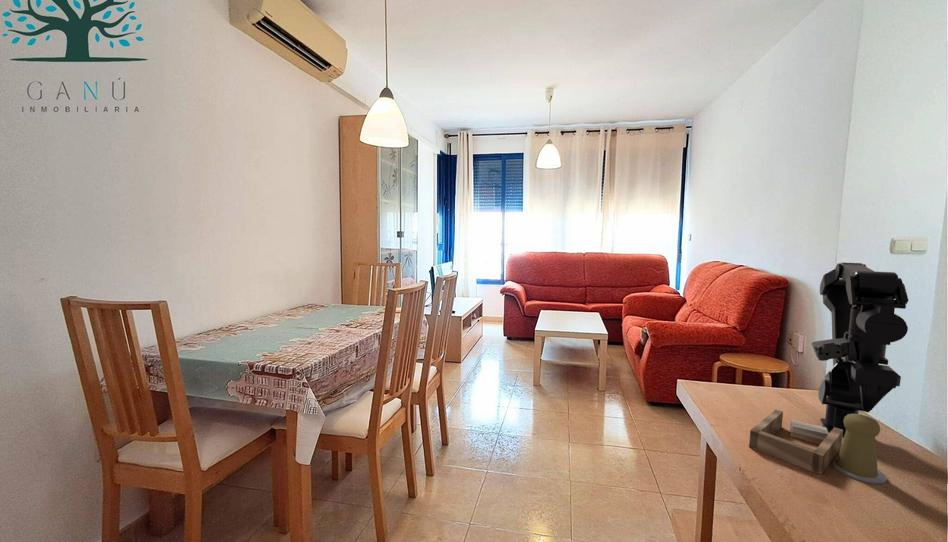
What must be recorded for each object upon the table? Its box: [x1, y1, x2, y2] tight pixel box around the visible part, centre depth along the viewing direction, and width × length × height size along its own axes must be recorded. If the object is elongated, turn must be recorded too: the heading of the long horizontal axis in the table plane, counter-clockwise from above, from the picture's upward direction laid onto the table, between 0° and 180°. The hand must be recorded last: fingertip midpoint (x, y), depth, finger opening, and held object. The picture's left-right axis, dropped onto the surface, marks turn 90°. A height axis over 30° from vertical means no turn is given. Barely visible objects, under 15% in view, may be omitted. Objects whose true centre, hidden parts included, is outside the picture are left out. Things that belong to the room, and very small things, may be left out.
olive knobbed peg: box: [836, 413, 881, 478], centre depth 78 cm, size 6×6×11 cm
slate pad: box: [832, 458, 887, 485], centre depth 78 cm, size 8×8×1 cm
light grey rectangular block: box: [789, 419, 830, 445], centre depth 91 cm, size 4×7×3 cm, turn 51°
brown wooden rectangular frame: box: [748, 409, 844, 475], centre depth 87 cm, size 17×12×4 cm
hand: (859, 402), depth 83 cm, fingers open, 9 cm apart
